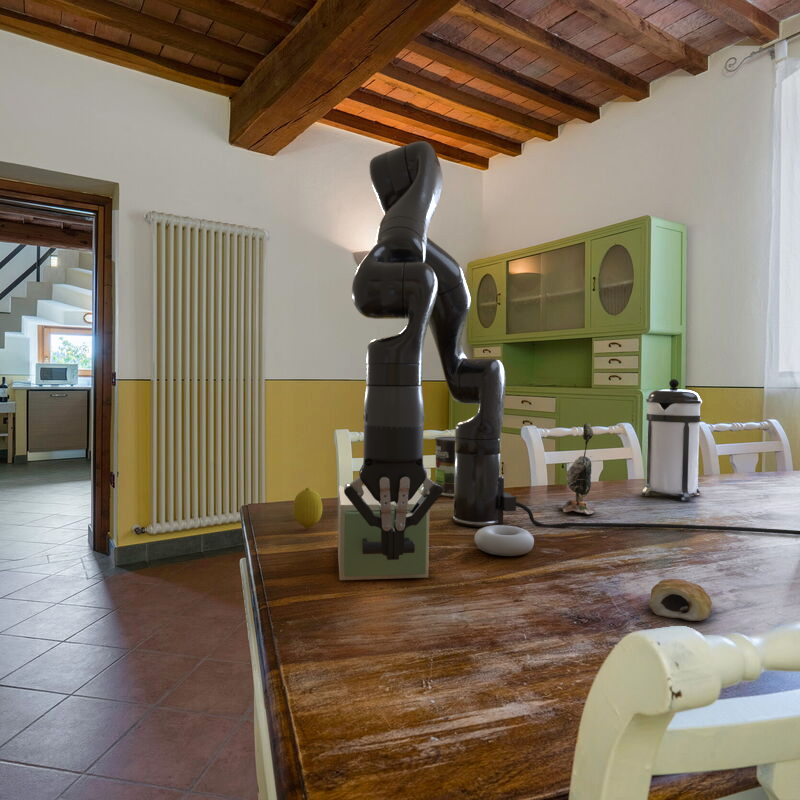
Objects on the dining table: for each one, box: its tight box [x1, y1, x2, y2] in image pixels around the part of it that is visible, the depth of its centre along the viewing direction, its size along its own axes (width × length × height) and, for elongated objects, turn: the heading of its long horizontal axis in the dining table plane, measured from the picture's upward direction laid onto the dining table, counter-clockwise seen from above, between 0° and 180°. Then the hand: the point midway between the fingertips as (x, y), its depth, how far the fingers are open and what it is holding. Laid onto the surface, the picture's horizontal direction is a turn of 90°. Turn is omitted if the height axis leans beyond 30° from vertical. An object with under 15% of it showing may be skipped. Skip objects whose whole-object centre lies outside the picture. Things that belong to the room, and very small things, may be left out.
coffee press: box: [641, 378, 703, 503], centre depth 146 cm, size 17×16×30 cm
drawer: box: [344, 510, 427, 576], centre depth 85 cm, size 18×12×9 cm, turn 7°
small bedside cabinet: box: [337, 485, 430, 581], centre depth 89 cm, size 15×13×11 cm
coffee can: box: [434, 436, 455, 498], centre depth 146 cm, size 10×10×14 cm
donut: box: [473, 524, 535, 557], centre depth 96 cm, size 10×4×10 cm
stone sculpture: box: [558, 422, 596, 515], centre depth 127 cm, size 8×11×20 cm
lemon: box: [292, 487, 323, 530], centre depth 108 cm, size 6×6×8 cm
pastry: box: [647, 578, 713, 622], centre depth 72 cm, size 9×7×4 cm
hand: (392, 557), depth 72 cm, fingers closed
